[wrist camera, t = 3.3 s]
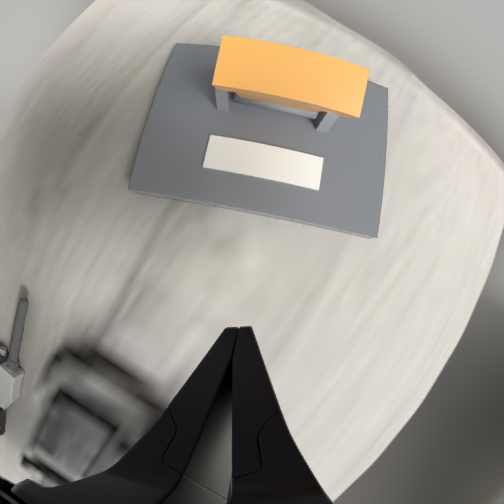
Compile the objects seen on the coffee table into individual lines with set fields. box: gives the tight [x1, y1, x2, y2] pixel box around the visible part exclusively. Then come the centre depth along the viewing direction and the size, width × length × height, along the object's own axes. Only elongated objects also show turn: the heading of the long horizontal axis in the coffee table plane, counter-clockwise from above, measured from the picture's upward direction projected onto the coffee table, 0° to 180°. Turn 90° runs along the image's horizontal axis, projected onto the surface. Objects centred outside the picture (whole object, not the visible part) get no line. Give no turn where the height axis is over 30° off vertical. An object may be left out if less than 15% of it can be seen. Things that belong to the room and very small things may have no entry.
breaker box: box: [128, 43, 388, 239], centre depth 19 cm, size 13×18×4 cm
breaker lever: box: [212, 35, 370, 119], centre depth 14 cm, size 2×6×11 cm, turn 79°
